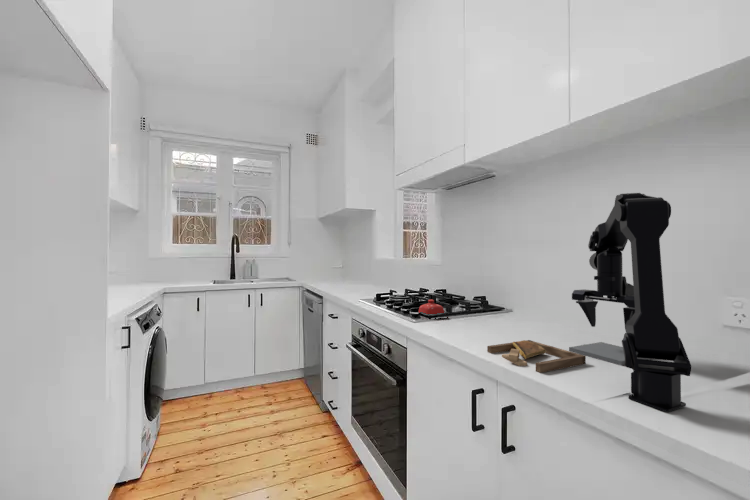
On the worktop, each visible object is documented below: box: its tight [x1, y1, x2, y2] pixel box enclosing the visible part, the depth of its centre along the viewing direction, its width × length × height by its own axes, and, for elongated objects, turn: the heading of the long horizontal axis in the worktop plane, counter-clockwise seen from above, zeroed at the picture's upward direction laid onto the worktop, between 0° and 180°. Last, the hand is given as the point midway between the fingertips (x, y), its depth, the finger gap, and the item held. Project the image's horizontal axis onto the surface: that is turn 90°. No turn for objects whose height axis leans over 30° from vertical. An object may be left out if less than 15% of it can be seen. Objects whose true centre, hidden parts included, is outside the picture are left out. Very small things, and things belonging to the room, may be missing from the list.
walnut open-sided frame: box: [486, 339, 587, 374], centre depth 91 cm, size 17×16×2 cm
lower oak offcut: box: [501, 353, 528, 367], centre depth 88 cm, size 7×2×2 cm, turn 12°
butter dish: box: [418, 299, 445, 314], centre depth 145 cm, size 12×12×8 cm
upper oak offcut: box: [508, 349, 520, 362], centre depth 88 cm, size 6×2×2 cm, turn 153°
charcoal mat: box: [568, 341, 650, 366], centre depth 94 cm, size 14×14×1 cm
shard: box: [512, 340, 546, 360], centre depth 93 cm, size 11×8×2 cm
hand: (610, 329), depth 94 cm, fingers open, 9 cm apart
